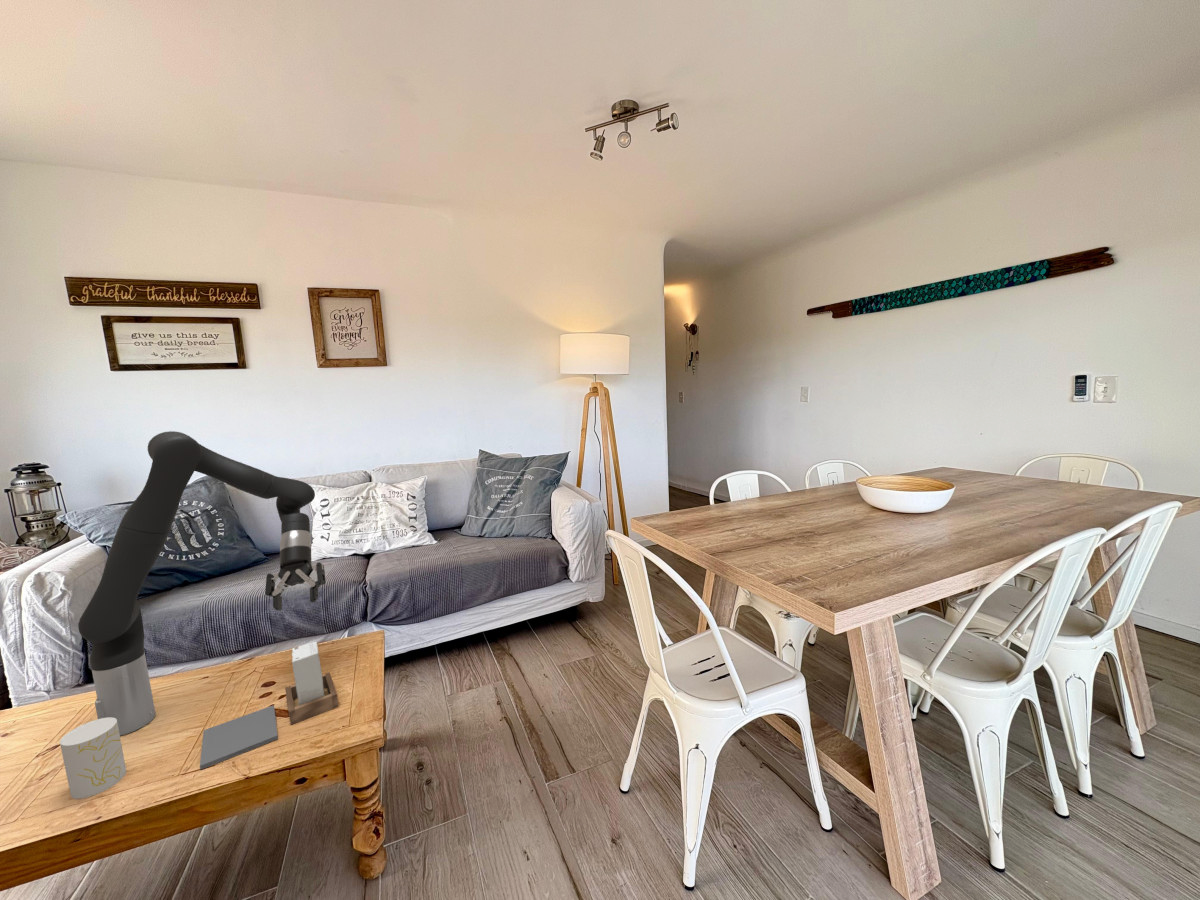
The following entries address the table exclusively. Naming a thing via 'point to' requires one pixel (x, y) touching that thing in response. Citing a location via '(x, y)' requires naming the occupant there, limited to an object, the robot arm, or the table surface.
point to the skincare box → (307, 673)
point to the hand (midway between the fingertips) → (296, 606)
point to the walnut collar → (311, 702)
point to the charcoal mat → (238, 736)
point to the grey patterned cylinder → (93, 757)
